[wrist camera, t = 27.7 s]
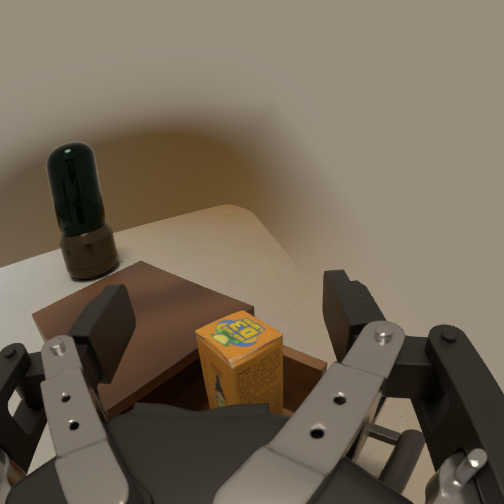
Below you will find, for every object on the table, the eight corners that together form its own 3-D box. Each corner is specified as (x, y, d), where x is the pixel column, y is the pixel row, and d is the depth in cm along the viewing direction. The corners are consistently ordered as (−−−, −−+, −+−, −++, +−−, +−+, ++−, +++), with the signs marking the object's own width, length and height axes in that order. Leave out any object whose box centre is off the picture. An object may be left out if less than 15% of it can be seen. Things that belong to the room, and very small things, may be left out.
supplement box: (288, 446, 18) (289, 333, 14) (247, 475, 16) (226, 370, 12) (256, 419, 20) (243, 304, 16) (216, 444, 18) (185, 332, 14)
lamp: (86, 288, 44) (53, 145, 35) (61, 275, 49) (32, 153, 40) (130, 263, 52) (106, 133, 43) (101, 254, 56) (78, 140, 47)
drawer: (414, 451, 17) (447, 390, 14) (330, 588, 9) (353, 579, 6) (217, 364, 28) (206, 302, 25) (118, 437, 20) (82, 378, 17)
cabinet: (261, 387, 26) (254, 306, 22) (150, 482, 17) (101, 413, 13) (158, 328, 34) (140, 260, 31) (67, 384, 26) (31, 314, 22)
